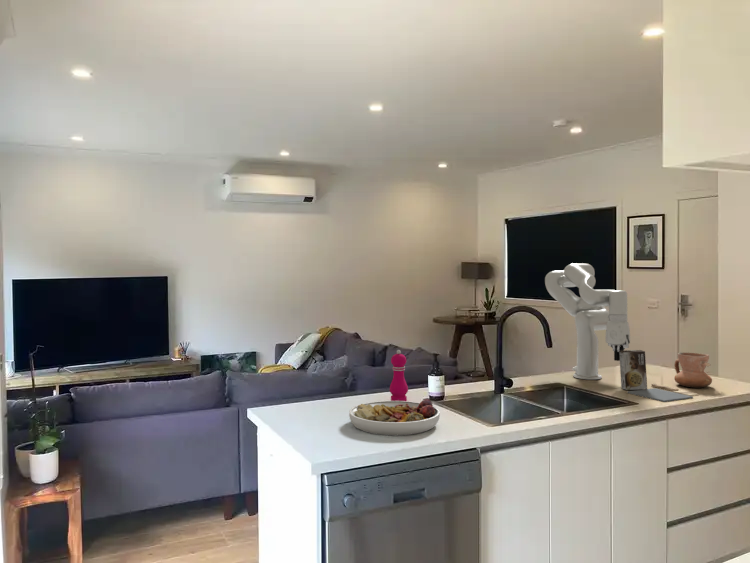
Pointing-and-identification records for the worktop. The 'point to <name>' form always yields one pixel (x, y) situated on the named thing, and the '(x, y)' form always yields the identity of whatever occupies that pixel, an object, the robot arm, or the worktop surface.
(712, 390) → the worktop surface
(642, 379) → the coffee box
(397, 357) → the pepper mill
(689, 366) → the ceramic jug
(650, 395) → the mat
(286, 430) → the worktop surface
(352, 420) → the bowl
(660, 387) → the turner
